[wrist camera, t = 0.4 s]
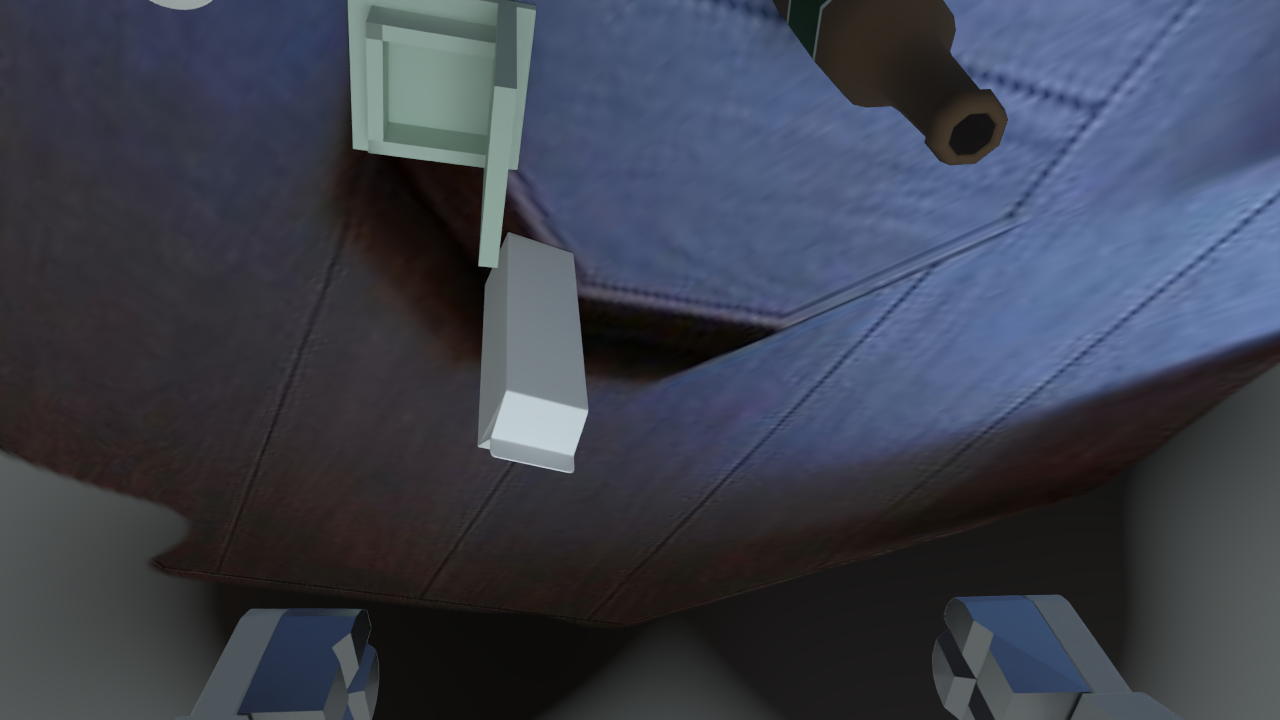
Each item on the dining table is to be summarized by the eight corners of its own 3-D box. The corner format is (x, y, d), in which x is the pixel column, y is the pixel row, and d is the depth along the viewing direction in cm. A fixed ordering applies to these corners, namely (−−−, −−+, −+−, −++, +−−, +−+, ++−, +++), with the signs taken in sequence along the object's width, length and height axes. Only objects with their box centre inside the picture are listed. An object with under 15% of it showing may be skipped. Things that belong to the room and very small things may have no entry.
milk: (548, 302, 70) (558, 500, 54) (483, 283, 68) (474, 484, 52) (574, 251, 66) (593, 447, 51) (507, 229, 64) (505, 427, 48)
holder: (349, -29, 50) (306, 56, 39) (535, 5, 52) (541, 93, 42) (355, 142, 57) (320, 249, 47) (517, 163, 60) (517, 270, 50)
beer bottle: (784, 49, 57) (904, 231, 39) (754, -57, 51) (877, 98, 34) (887, 3, 55) (1060, 170, 38) (867, -111, 50) (1056, 21, 32)
